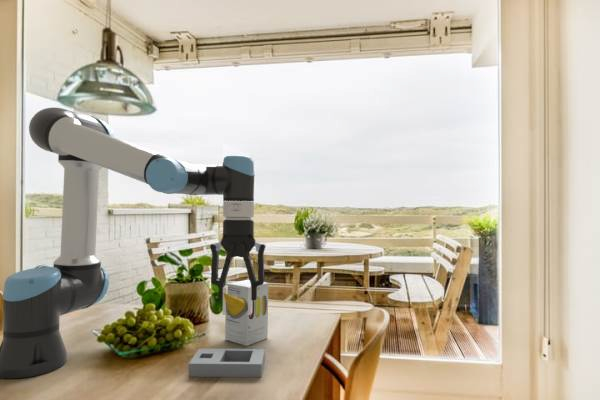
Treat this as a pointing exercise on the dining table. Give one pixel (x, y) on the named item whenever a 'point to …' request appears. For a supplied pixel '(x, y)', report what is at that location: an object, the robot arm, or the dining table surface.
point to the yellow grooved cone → (236, 306)
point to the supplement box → (252, 325)
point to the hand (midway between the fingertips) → (237, 313)
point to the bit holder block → (227, 363)
